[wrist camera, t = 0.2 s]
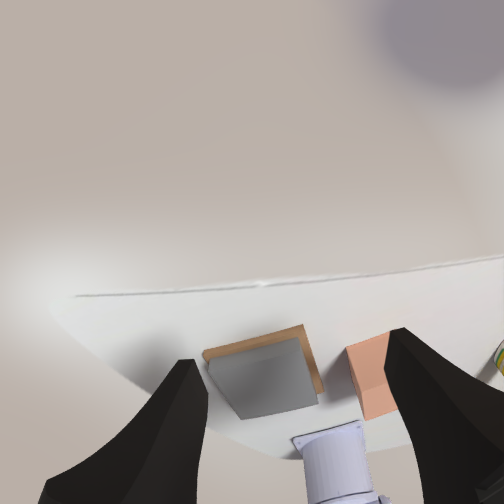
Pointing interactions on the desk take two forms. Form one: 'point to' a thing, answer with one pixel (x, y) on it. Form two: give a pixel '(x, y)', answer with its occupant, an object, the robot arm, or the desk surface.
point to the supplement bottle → (500, 358)
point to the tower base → (270, 339)
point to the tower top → (265, 379)
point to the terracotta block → (371, 376)
